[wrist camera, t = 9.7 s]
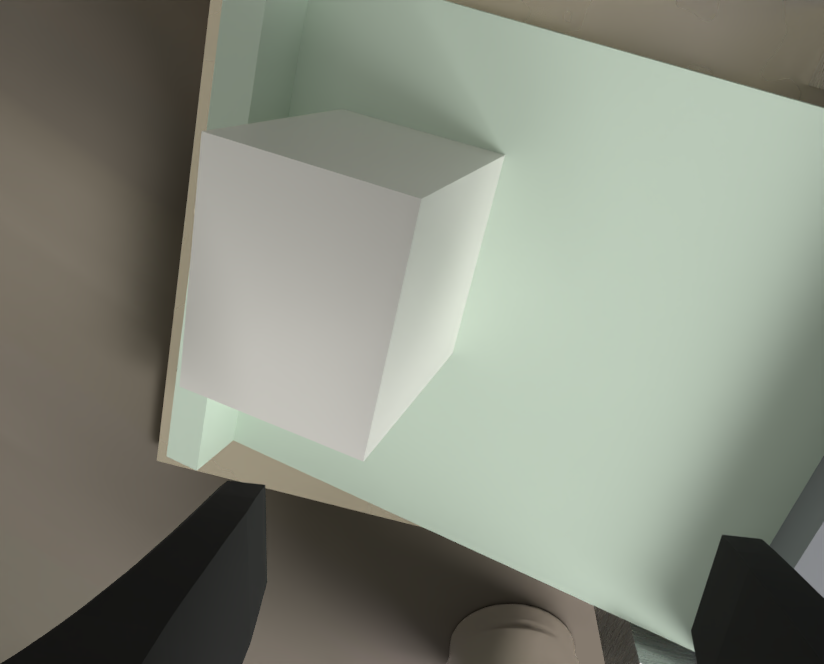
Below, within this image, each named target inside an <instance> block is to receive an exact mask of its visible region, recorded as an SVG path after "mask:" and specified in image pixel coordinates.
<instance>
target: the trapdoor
mask: <svg viewBox="0 0 824 664" xmlns="http://www.w3.org/2000/svg"><path fill="white" fill-rule="evenodd" d="M338 109H345V110H348V111H352V112H355V113H359V114H362V115H366V116H369V117H373V118H376V119H380V120H383V121H387V122H390V123H394V124H397V125H401V126H405V127H408V128H412V129H415V130H419V131H422V132H426V133H429V134H433V135H436V136H440V137H443V138H447V139H450V140H454V141H457V142H461V143H464V144H468V145H471V146H475V147H478V148H482V149H485V150H489V151H492V152H496V153H499V154H503V155H505V157H504V160H503V164H502V168H501V172H500V176H499V179H498V183H497V187H496V191H495V195H494V198H493V202H492V206H491V210H490V213H489V217H488V221H487V225H486V229H485V232H484V236H483V240H482V244H481V248H480V251H479V255H478V259H477V263H476V267H475V270H474V274H473V278H472V282H471V285H470V289H469V293H468V297H467V301H466V304H465V308H464V312H463V316H462V320H461V323H460V327H459V331H458V335H457V339H456V342H455V346H454V350H453V353H452V355H451V356H450V357H449V358H448V359H447V361H446V362H445V363H444V364H443V366H442V367H441V368H440V369H439V370H438V372H437V373H436V374H435V375H434V376H433V378H432V379H431V380H430V381H429V383H428V384H427V385H426V386H425V387H424V389H423V390H422V391H421V392H420V394H419V395H418V396H417V397H416V398H415V400H414V401H413V402H412V403H411V404H410V406H409V407H408V408H407V409H406V411H405V412H404V413H403V414H402V415H401V417H400V418H399V419H398V420H397V421H396V423H395V424H394V425H393V426H392V428H391V429H390V430H389V431H388V432H387V434H386V435H385V436H384V437H383V438H382V440H381V441H380V442H379V443H378V445H377V446H376V447H375V448H374V449H373V451H372V452H371V453H370V454H369V456H368V457H367V458H366V459H365V460H364V462H363V461H361V460H358V459H356V458H353V457H351V456H349V455H346V454H344V453H341V452H339V451H336V450H334V449H331V448H329V447H327V446H324V445H322V444H319V443H317V442H314V441H312V440H309V439H307V438H305V437H302V436H300V435H297V434H295V433H292V432H290V431H287V430H285V429H282V428H280V427H278V426H275V425H273V424H270V423H268V422H265V421H263V420H260V419H258V418H256V417H253V416H251V415H248V414H246V413H243V412H241V411H238V410H236V409H233V408H231V407H229V406H226V405H224V404H221V403H219V402H216V401H214V400H211V399H209V398H207V397H204V396H202V395H199V394H197V393H194V392H192V391H189V390H187V389H184V388H182V387H180V375H181V363H182V352H183V340H184V329H185V317H186V306H187V294H188V285H187V293H186V301H185V310H184V318H183V326H182V334H181V342H180V350H179V358H178V366H177V375H176V383H175V391H174V399H173V407H172V415H171V423H170V431H169V440H168V448H167V457H169V458H171V459H173V460H175V461H177V462H179V463H182V464H184V465H186V466H188V467H190V468H192V469H194V470H196V471H197V470H198V469H199V468H201V467H202V466H203V465H204V464H205V463H207V462H208V461H209V460H210V459H211V458H213V457H214V456H215V455H216V454H218V453H219V452H220V451H221V450H222V449H224V448H225V447H226V446H227V445H228V444H230V443H231V442H232V441H233V440H234V441H236V442H238V443H240V444H242V445H245V446H247V447H249V448H251V449H253V450H256V451H258V452H260V453H262V454H264V455H266V456H269V457H271V458H273V459H275V460H277V461H280V462H282V463H284V464H286V465H288V466H290V467H293V468H295V469H297V470H299V471H301V472H304V473H306V474H308V475H310V476H312V477H314V478H317V479H319V480H321V481H323V482H325V483H328V484H330V485H332V486H334V487H336V488H338V489H341V490H343V491H345V492H347V493H349V494H352V495H354V496H356V497H358V498H360V499H362V500H365V501H367V502H369V503H371V504H373V505H376V506H378V507H380V508H382V509H384V510H386V511H389V512H391V513H393V514H395V515H397V516H400V517H402V518H404V519H406V520H408V521H410V522H413V523H415V524H417V525H419V526H421V527H424V528H426V529H428V530H430V531H432V532H434V533H437V534H439V535H441V536H443V537H445V538H448V539H450V540H452V541H454V542H456V543H458V544H461V545H463V546H465V547H467V548H469V549H472V550H474V551H476V552H478V553H480V554H482V555H485V556H487V557H489V558H491V559H493V560H496V561H498V562H500V563H502V564H504V565H506V566H509V567H511V568H513V569H515V570H517V571H519V572H522V573H524V574H526V575H528V576H530V577H533V578H535V579H537V580H539V581H541V582H543V583H546V584H548V585H550V586H552V587H554V588H557V589H559V590H561V591H563V592H565V593H567V594H570V595H572V596H574V597H576V598H578V599H581V600H583V601H585V602H587V603H589V604H591V605H594V606H596V607H598V608H600V609H602V610H605V611H607V612H609V613H611V614H613V615H615V616H618V617H620V618H622V619H624V620H626V621H629V622H631V623H633V624H635V625H637V626H639V627H642V628H644V629H646V630H648V631H650V632H653V633H655V634H657V635H659V636H661V637H663V638H666V639H668V640H670V641H672V642H674V643H677V644H679V645H681V646H683V647H685V648H687V649H690V650H692V651H694V652H695V650H694V645H693V639H692V634H691V629H692V626H693V623H694V620H695V617H696V613H697V610H698V607H699V604H700V601H701V598H702V595H703V592H704V589H705V586H706V583H707V580H708V576H709V573H710V570H711V567H712V564H713V561H714V558H715V555H716V552H717V549H718V546H719V542H720V539H721V536H722V535H730V536H739V537H748V538H758V539H762V540H764V541H765V542H766V543H767V544H768V545H769V546H770V547H771V548H773V549H774V550H775V551H776V552H777V553H778V554H779V555H780V556H781V557H782V558H783V559H784V560H785V561H786V562H787V563H788V564H789V565H790V566H791V567H792V568H794V569H795V570H796V571H797V572H798V573H799V574H800V575H801V576H802V577H803V578H804V579H805V580H806V581H807V582H808V583H809V584H810V585H811V586H812V587H813V588H814V589H815V590H816V591H817V592H818V593H819V594H820V595H821V596H822V597H823V598H824V107H821V106H817V105H814V104H810V103H807V102H803V101H800V100H796V99H793V98H789V97H786V96H782V95H779V94H775V93H772V92H768V91H764V90H761V89H757V88H754V87H750V86H747V85H743V84H740V83H736V82H733V81H729V80H726V79H722V78H719V77H715V76H711V75H708V74H704V73H701V72H697V71H694V70H690V69H687V68H683V67H680V66H676V65H673V64H669V63H666V62H662V61H659V60H655V59H651V58H648V57H644V56H641V55H637V54H634V53H630V52H627V51H623V50H620V49H616V48H613V47H609V46H606V45H602V44H598V43H595V42H591V41H588V40H584V39H581V38H577V37H574V36H570V35H567V34H563V33H560V32H556V31H553V30H549V29H545V28H542V27H538V26H535V25H531V24H528V23H524V22H521V21H517V20H514V19H510V18H507V17H503V16H500V15H496V14H493V13H489V12H485V11H482V10H478V9H475V8H471V7H468V6H464V5H461V4H457V3H454V2H450V1H447V0H223V1H222V9H221V17H220V25H219V33H218V41H217V50H216V58H215V66H214V74H213V82H212V90H211V98H210V106H209V115H208V123H207V130H212V129H218V128H225V127H231V126H237V125H244V124H250V123H256V122H263V121H269V120H275V119H282V118H288V117H294V116H301V115H307V114H313V113H320V112H326V111H332V110H338ZM189 271H190V269H189ZM188 283H189V277H188Z"/></svg>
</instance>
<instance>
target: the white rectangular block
mask: <svg viewBox="0 0 824 664" xmlns="http://www.w3.org/2000/svg"><path fill="white" fill-rule="evenodd" d="M504 157H505V155H503V154H499V153H496V152H492V151H489V150H485V149H482V148H478V147H475V146H471V145H468V144H464V143H461V142H457V141H454V140H450V139H447V138H443V137H440V136H436V135H433V134H429V133H426V132H422V131H419V130H415V129H412V128H408V127H405V126H401V125H397V124H394V123H390V122H387V121H383V120H380V119H376V118H373V117H369V116H366V115H362V114H359V113H355V112H352V111H348V110H345V109H338V110H332V111H326V112H320V113H313V114H307V115H301V116H294V117H288V118H282V119H275V120H269V121H263V122H256V123H250V124H244V125H237V126H231V127H225V128H218V129H212V130H206V131H202V133H201V145H200V156H199V168H198V179H197V191H196V202H195V214H194V225H193V237H192V248H191V260H190V271H189V283H188V294H187V306H186V317H185V329H184V340H183V352H182V363H181V375H180V387H182V388H184V389H187V390H189V391H192V392H194V393H197V394H199V395H202V396H204V397H207V398H209V399H211V400H214V401H216V402H219V403H221V404H224V405H226V406H229V407H231V408H233V409H236V410H238V411H241V412H243V413H246V414H248V415H251V416H253V417H256V418H258V419H260V420H263V421H265V422H268V423H270V424H273V425H275V426H278V427H280V428H282V429H285V430H287V431H290V432H292V433H295V434H297V435H300V436H302V437H305V438H307V439H309V440H312V441H314V442H317V443H319V444H322V445H324V446H327V447H329V448H331V449H334V450H336V451H339V452H341V453H344V454H346V455H349V456H351V457H353V458H356V459H358V460H361V461H363V462H364V460H365V459H366V458H367V457H368V456H369V454H370V453H371V452H372V451H373V449H374V448H375V447H376V446H377V445H378V443H379V442H380V441H381V440H382V438H383V437H384V436H385V435H386V434H387V432H388V431H389V430H390V429H391V428H392V426H393V425H394V424H395V423H396V421H397V420H398V419H399V418H400V417H401V415H402V414H403V413H404V412H405V411H406V409H407V408H408V407H409V406H410V404H411V403H412V402H413V401H414V400H415V398H416V397H417V396H418V395H419V394H420V392H421V391H422V390H423V389H424V387H425V386H426V385H427V384H428V383H429V381H430V380H431V379H432V378H433V376H434V375H435V374H436V373H437V372H438V370H439V369H440V368H441V367H442V366H443V364H444V363H445V362H446V361H447V359H448V358H449V357H450V356H451V355H452V353H453V350H454V346H455V342H456V339H457V335H458V331H459V327H460V323H461V320H462V316H463V312H464V308H465V304H466V301H467V297H468V293H469V289H470V285H471V282H472V278H473V274H474V270H475V267H476V263H477V259H478V255H479V251H480V248H481V244H482V240H483V236H484V232H485V229H486V225H487V221H488V217H489V213H490V210H491V206H492V202H493V198H494V195H495V191H496V187H497V183H498V179H499V176H500V172H501V168H502V164H503V160H504Z"/></svg>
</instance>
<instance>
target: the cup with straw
mask: <svg viewBox="0 0 824 664" xmlns="http://www.w3.org/2000/svg"><path fill="white" fill-rule="evenodd" d="M449 652H450V657H449V659H448V661H447V664H580V662H579V660H578V658H577V657H576V656H575V643H574V640H573V637H572V635H571V633H570V632H569V630H568V629H567V627H566V626H565V625H564V624H563V623H562V622H561V621H560V620H559V619H558V618H556V617H555V616H553V615H552V614H550V613H548V612H546V611H544V610H541V609H539V608H536V607H532V606H528V605H523V604H498V605H493V606H488V607H485V608H483V609H480V610H477V611H475V612H474V613H472V614H470V615H469V616H467V617H466V618H465V619H463V620H462V621H461V622H460V623H459V624H458V626H457V627H456V628H455V630H454V631H453V634H452V636H451V639H450V647H449Z"/></svg>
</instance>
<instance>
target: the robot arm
mask: <svg viewBox="0 0 824 664" xmlns="http://www.w3.org/2000/svg"><path fill="white" fill-rule="evenodd" d="M266 583H267V562H266V495H265V485H263V484H254V483H244V482H235V481H227V482H226V483H224V484H223V485H222V486H220V487H219V488H218V489H217V490H216V491H215V492H214V493H213V494H212V495H211V496H210V497H209V498H208V499H207V500H206V501H205V502H204V503H203V504H202V505H201V506H199V507H198V508H197V509H196V510H195V511H194V512H193V513H192V514H191V515H190V516H189V517H188V518H187V519H186V520H185V521H184V522H182V523H181V524H180V525H179V526H178V527H177V528H176V529H175V530H174V531H173V532H172V533H171V534H170V535H168V536H167V537H166V538H165V539H164V540H163V541H162V542H161V543H159V544H158V545H157V546H156V547H155V548H154V549H153V550H151V551H150V552H149V553H148V554H147V555H146V556H145V557H144V558H142V559H141V560H140V561H139V562H138V563H137V564H136V565H134V566H133V567H132V568H131V569H130V570H128V571H127V572H126V573H125V574H124V575H122V576H121V577H120V578H119V579H117V580H116V581H115V582H114V583H112V584H111V585H110V586H109V587H107V588H106V589H105V590H104V591H102V592H101V593H100V594H99V595H97V596H96V597H95V598H94V599H92V600H91V601H90V602H89V603H87V604H86V605H85V606H83V607H82V608H81V609H79V610H78V611H77V612H75V613H74V614H73V615H71V616H70V617H69V618H67V619H66V620H65V621H63V622H62V623H60V624H59V625H58V626H56V627H55V628H53V629H52V630H51V631H49V632H48V633H46V634H45V635H43V636H42V637H41V638H39V639H38V640H36V641H35V642H33V643H32V644H30V645H29V646H27V647H26V648H24V649H23V650H21V651H20V652H18V653H17V654H15V655H14V656H12V657H11V658H9V659H7V660H6V661H4V662H2V663H1V664H242V663H243V660H244V658H245V655H246V653H247V650H248V648H249V645H250V642H251V639H252V635H253V632H254V628H255V625H256V621H257V617H258V614H259V610H260V606H261V602H262V599H263V595H264V591H265V587H266ZM691 634H692V639H693V645H694V650H695V655H696V660H697V664H824V598H823V597H822V596H821V595H820V594H819V593H818V592H817V591H816V590H815V589H814V588H813V587H812V586H811V585H810V584H809V583H808V582H807V581H806V580H805V579H804V578H803V577H802V576H801V575H800V574H799V573H798V572H797V571H796V570H795V569H794V568H792V567H791V566H790V565H789V564H788V563H787V562H786V561H785V560H784V559H783V558H782V557H781V556H780V555H779V554H778V553H777V552H776V551H775V550H774V549H773V548H771V547H770V546H769V545H768V544H767V543H766V542H765V541H764V540H762V539H758V538H748V537H739V536H730V535H722V536H721V539H720V542H719V546H718V549H717V552H716V555H715V558H714V561H713V564H712V567H711V570H710V573H709V576H708V580H707V583H706V586H705V589H704V592H703V595H702V598H701V601H700V604H699V607H698V610H697V613H696V617H695V620H694V623H693V626H692V629H691Z"/></svg>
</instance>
